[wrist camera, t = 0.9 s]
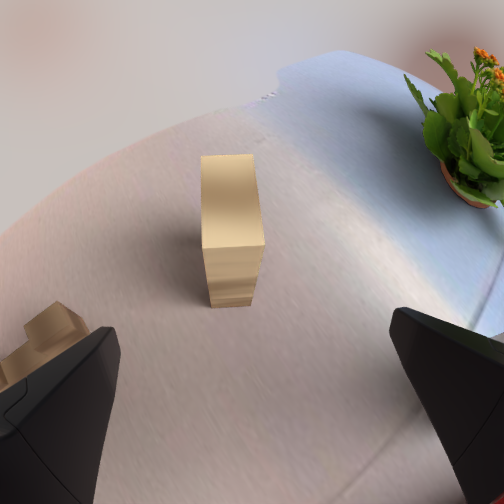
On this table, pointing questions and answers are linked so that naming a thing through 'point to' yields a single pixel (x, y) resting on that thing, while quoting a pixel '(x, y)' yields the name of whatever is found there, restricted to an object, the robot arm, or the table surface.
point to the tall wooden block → (230, 228)
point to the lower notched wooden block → (42, 342)
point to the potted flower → (468, 130)
